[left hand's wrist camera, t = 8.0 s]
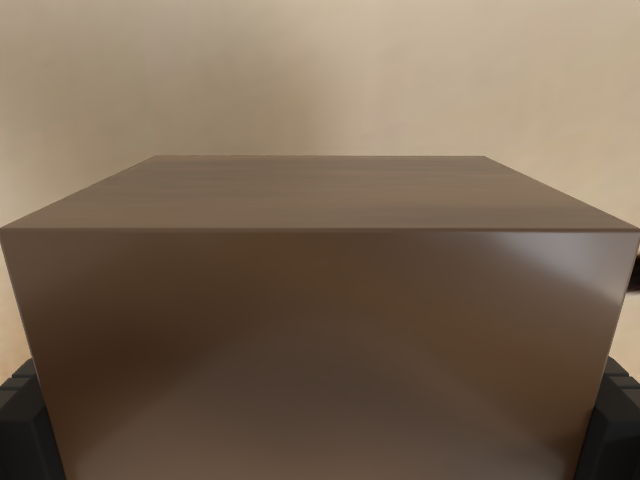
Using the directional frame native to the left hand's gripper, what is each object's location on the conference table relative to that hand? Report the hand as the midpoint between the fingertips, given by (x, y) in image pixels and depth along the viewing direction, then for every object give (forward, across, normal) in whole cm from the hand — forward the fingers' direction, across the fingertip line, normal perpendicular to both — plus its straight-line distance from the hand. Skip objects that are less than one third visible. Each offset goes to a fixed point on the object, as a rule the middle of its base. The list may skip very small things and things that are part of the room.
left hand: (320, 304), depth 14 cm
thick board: (+1, 0, -26) cm, 26 cm away
